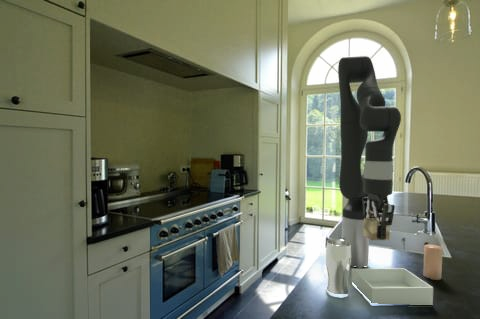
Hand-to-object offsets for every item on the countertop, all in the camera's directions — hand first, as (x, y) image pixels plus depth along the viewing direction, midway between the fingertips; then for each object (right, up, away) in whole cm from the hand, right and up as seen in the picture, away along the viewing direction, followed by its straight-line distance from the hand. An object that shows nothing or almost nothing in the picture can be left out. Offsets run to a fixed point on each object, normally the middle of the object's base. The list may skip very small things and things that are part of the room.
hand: (376, 235), depth 85 cm
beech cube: (0, 0, 0) cm, 0 cm away
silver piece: (-11, -17, +1) cm, 20 cm away
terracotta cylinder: (+25, -17, +14) cm, 33 cm away
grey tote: (+4, -17, +1) cm, 18 cm away
